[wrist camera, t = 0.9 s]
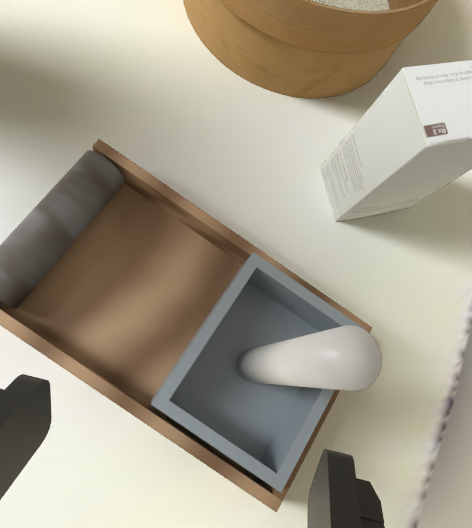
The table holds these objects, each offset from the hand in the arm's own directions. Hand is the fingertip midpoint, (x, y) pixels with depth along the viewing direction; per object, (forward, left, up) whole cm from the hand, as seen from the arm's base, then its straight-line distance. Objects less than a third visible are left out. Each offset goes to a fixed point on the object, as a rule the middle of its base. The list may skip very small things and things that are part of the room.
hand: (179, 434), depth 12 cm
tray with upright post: (-2, +7, -21) cm, 22 cm away
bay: (-6, +1, -22) cm, 23 cm away
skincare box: (-18, +19, -22) cm, 34 cm away
